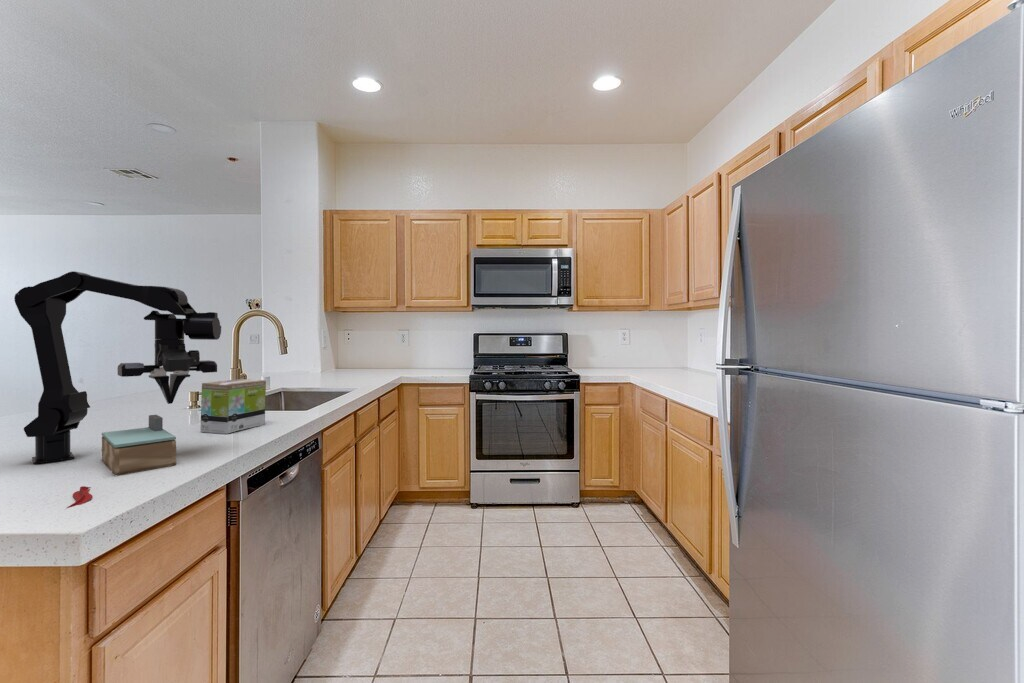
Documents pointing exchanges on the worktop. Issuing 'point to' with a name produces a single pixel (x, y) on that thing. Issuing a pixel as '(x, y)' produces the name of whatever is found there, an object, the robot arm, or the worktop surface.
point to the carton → (138, 456)
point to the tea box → (232, 405)
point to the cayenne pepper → (81, 496)
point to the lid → (140, 434)
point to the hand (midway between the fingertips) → (169, 403)
